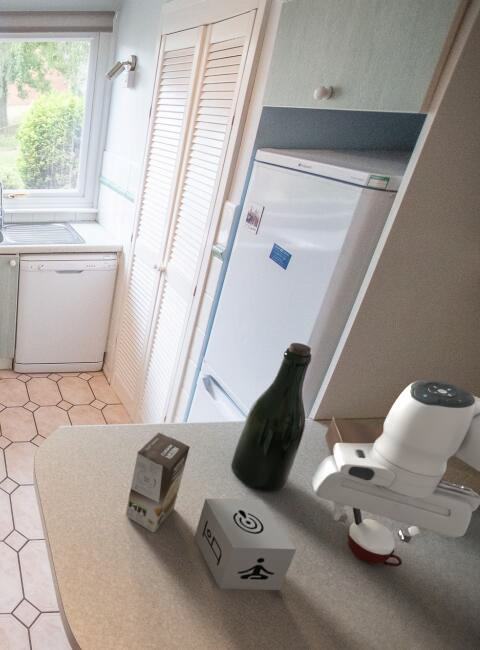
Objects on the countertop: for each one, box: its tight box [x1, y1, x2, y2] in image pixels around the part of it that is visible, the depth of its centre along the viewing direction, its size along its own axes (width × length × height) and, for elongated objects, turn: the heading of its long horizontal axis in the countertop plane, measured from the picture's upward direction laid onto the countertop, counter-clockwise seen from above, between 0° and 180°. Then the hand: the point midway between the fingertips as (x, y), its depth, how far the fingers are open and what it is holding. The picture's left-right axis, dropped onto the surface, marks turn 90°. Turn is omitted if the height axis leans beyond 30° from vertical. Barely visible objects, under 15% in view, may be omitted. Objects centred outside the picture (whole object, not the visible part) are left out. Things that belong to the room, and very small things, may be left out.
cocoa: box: [347, 507, 403, 567], centre depth 81 cm, size 10×6×12 cm, turn 5°
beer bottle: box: [230, 342, 312, 493], centre depth 94 cm, size 10×10×33 cm
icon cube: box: [194, 498, 297, 591], centre depth 79 cm, size 10×10×10 cm
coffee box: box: [124, 432, 191, 533], centre depth 88 cm, size 9×6×16 cm
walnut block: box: [324, 416, 384, 456], centre depth 104 cm, size 12×12×6 cm
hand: (370, 529), depth 81 cm, fingers open, 8 cm apart
